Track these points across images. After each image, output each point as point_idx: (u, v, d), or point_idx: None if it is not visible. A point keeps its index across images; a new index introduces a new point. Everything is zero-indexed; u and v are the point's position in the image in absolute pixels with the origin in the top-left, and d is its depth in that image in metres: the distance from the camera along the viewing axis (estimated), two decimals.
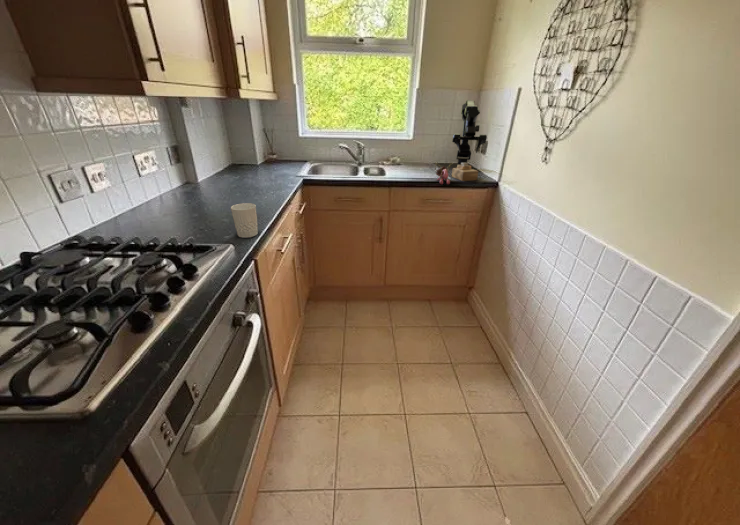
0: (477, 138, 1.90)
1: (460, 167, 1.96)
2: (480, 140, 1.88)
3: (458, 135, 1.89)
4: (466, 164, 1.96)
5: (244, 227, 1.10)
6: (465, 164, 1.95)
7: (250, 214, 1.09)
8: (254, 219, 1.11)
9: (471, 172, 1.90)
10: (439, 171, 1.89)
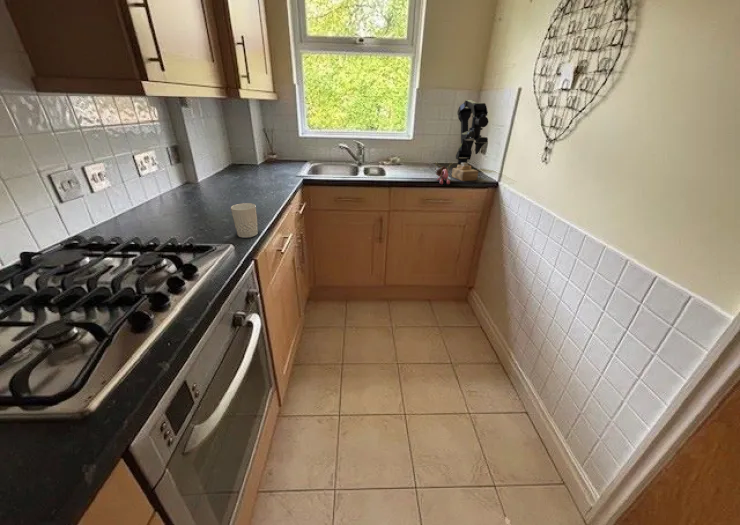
0: None
1: (460, 167, 1.96)
2: (475, 143, 1.96)
3: None
4: (466, 164, 1.96)
5: (244, 227, 1.10)
6: (465, 164, 1.95)
7: (250, 214, 1.09)
8: (254, 219, 1.11)
9: (471, 172, 1.90)
10: (439, 171, 1.89)
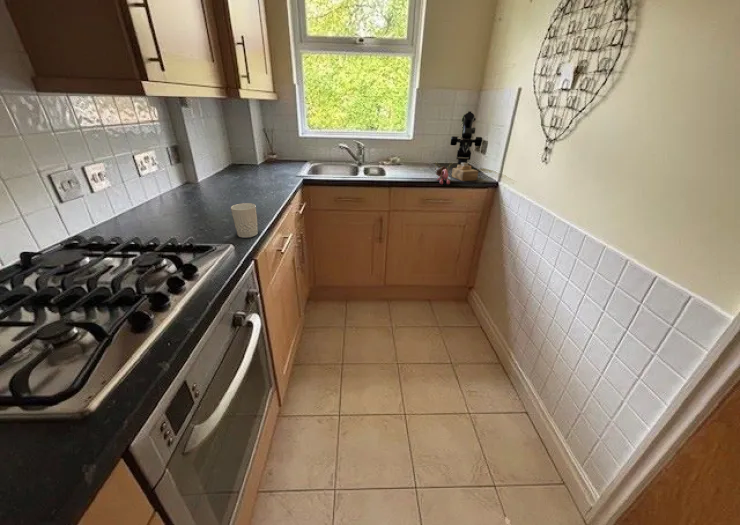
0: (466, 140, 2.05)
1: (460, 167, 1.96)
2: (469, 141, 2.02)
3: (456, 137, 2.04)
4: (466, 164, 1.96)
5: (244, 227, 1.10)
6: (465, 164, 1.95)
7: (250, 214, 1.09)
8: (254, 219, 1.11)
9: (471, 172, 1.90)
10: (439, 171, 1.89)
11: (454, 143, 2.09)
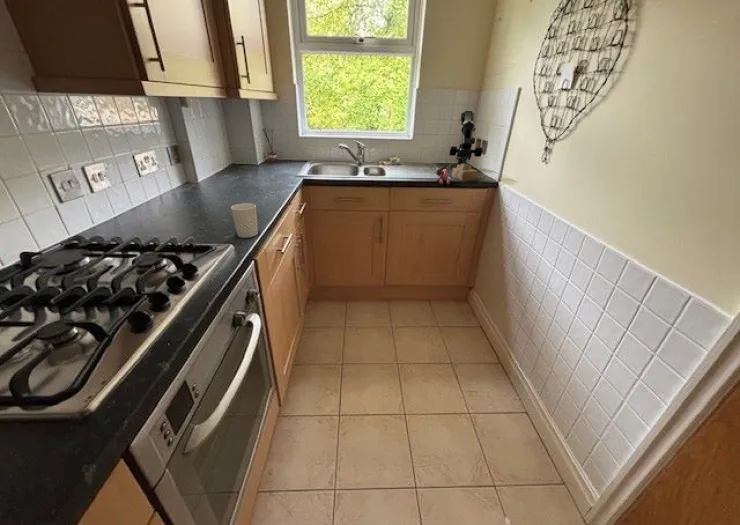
0: (466, 150, 1.99)
1: (460, 167, 1.96)
2: (468, 151, 1.96)
3: (455, 147, 1.97)
4: (466, 165, 1.96)
5: (244, 227, 1.10)
6: (465, 165, 1.96)
7: (250, 214, 1.09)
8: (254, 219, 1.11)
9: (471, 172, 1.90)
10: (439, 171, 1.89)
11: (453, 153, 2.03)
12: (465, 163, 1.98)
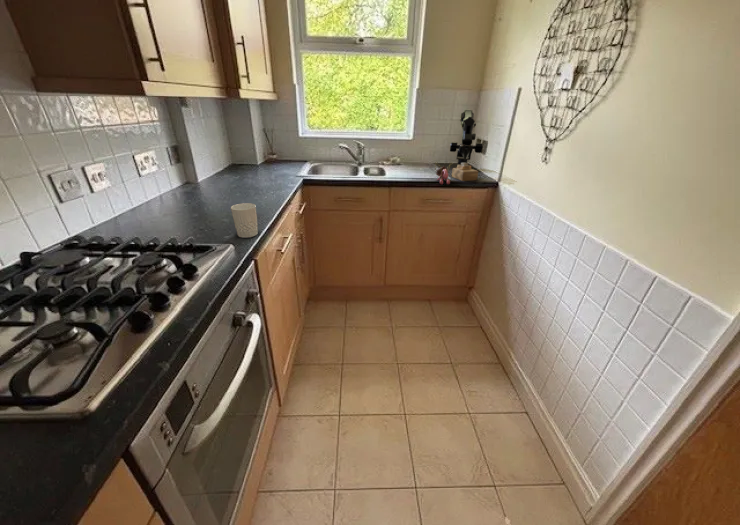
0: (466, 147, 1.98)
1: (460, 167, 1.96)
2: (469, 147, 1.95)
3: (455, 143, 1.97)
4: (466, 164, 1.96)
5: (244, 227, 1.10)
6: (465, 164, 1.95)
7: (250, 214, 1.09)
8: (254, 219, 1.11)
9: (471, 172, 1.90)
10: (439, 171, 1.89)
11: (454, 149, 2.02)
12: None
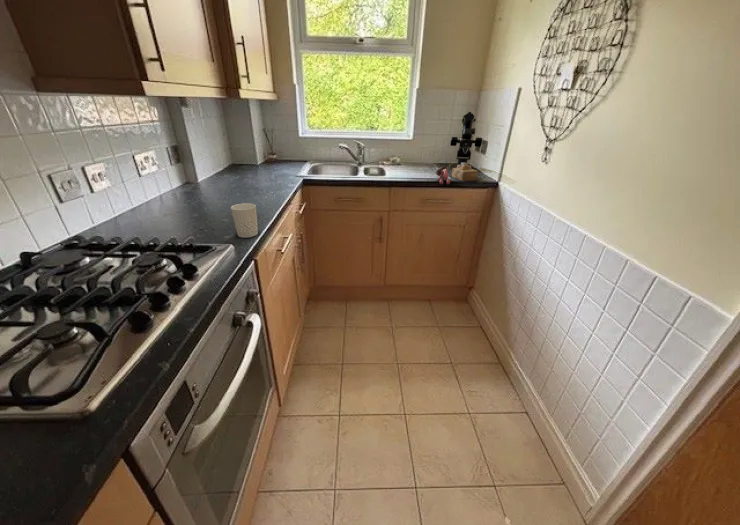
0: (466, 141, 2.04)
1: (460, 167, 1.96)
2: (469, 142, 2.01)
3: (456, 137, 2.03)
4: (466, 164, 1.96)
5: (244, 227, 1.10)
6: (465, 164, 1.95)
7: (250, 214, 1.09)
8: (254, 219, 1.11)
9: (471, 172, 1.90)
10: (439, 171, 1.89)
11: (454, 144, 2.08)
12: None
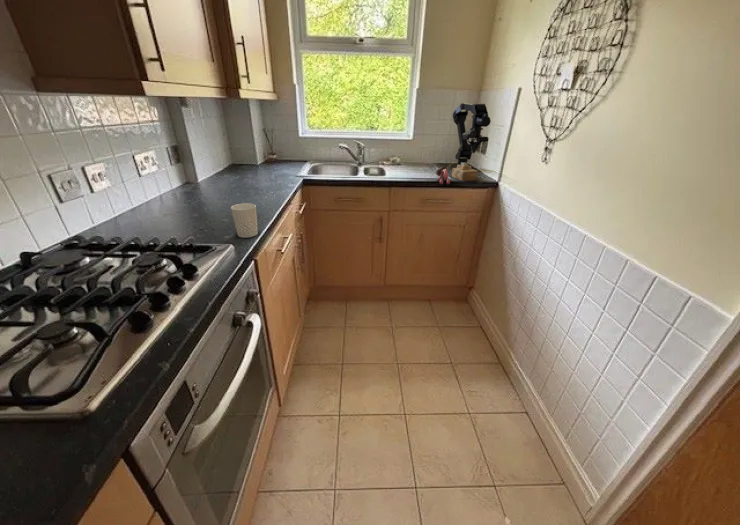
0: (474, 138, 2.04)
1: (460, 167, 1.96)
2: (472, 142, 2.03)
3: None
4: (466, 164, 1.96)
5: (244, 227, 1.10)
6: (465, 164, 1.95)
7: (250, 214, 1.09)
8: (254, 219, 1.11)
9: (471, 172, 1.90)
10: (439, 171, 1.89)
11: None
12: None
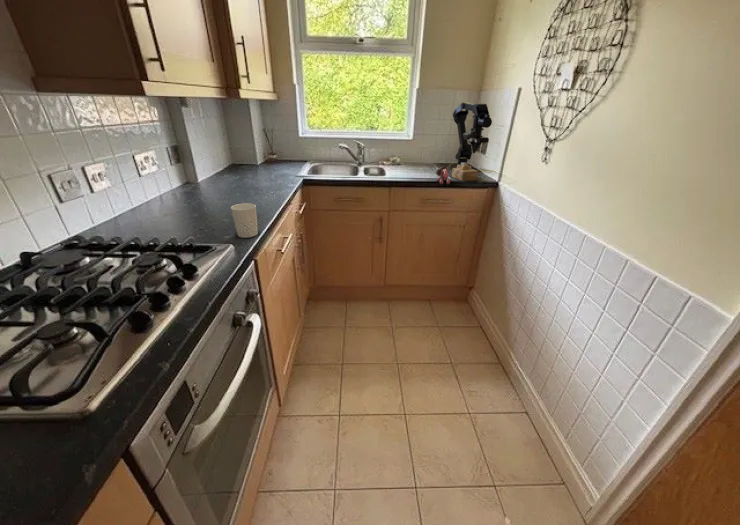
0: (475, 139, 2.04)
1: (460, 167, 1.96)
2: (473, 143, 2.03)
3: None
4: (466, 164, 1.96)
5: (244, 227, 1.10)
6: (465, 164, 1.95)
7: (250, 214, 1.09)
8: (254, 219, 1.11)
9: (471, 172, 1.90)
10: (439, 171, 1.89)
11: None
12: None
